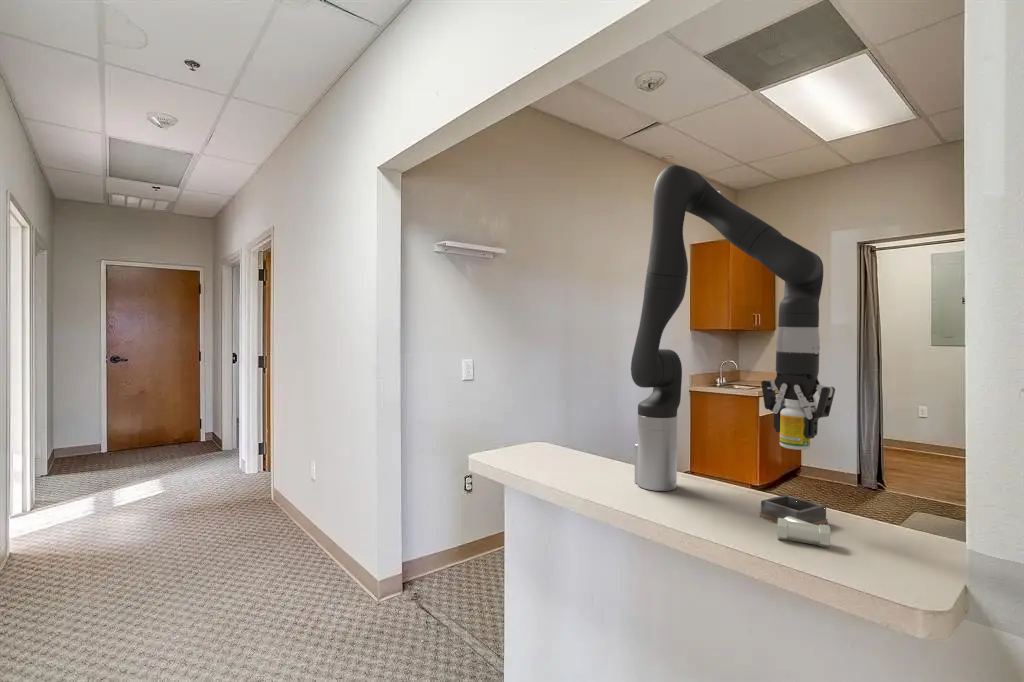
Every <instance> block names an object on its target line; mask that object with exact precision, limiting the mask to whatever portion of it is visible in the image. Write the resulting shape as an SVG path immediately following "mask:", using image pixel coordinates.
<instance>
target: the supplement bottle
mask: <svg viewBox="0 0 1024 682" xmlns="http://www.w3.org/2000/svg"><path fill="white" fill-rule="evenodd" d="M784 404H785V406H786V408H784V409H782V410H781V412H780V433H779V445H780V446H781V447H782V448H784V449H789V450H797V451H798V450H799V451H800V450H801V451H803V450H804V451H805V450H806V451H807V450H809V449H810V447H811V439H809V438H805V419H807V417H806V414H805V411H804V409H803V408H802V407H801V405H800V402H799V400H792V399H785V400H784Z"/></svg>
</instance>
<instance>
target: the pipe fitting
mask: <svg viewBox="0 0 1024 682" xmlns="http://www.w3.org/2000/svg"><path fill="white" fill-rule="evenodd" d="M776 534H777V537H776V538H777V539H778V540H780V539H781V541H786V540H787V541H792V542H799V543H803V544H808V545H815V546H819V547H821V546H822V547H821V548H827V549H829V548H831V527H830V525H828V524H823V525H822V524H820V525H814V524H811V523H808V522H805V521H802V520H799V519H797V518H794V517H791V516H788V517H786V518H784V519H783V518H778V523H777V533H776Z"/></svg>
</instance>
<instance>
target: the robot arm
mask: <svg viewBox="0 0 1024 682" xmlns="http://www.w3.org/2000/svg"><path fill="white" fill-rule="evenodd" d="M653 188H654V189H653V200H652V201H653V206H652V231H651V239H650V246H649V253H648V254H649V255H648V263H647V268H646V275H645V281H644V282H645V283H644V293H643V299H642V300H643V301H642V307H641V314H640V318H639V319H640V321H639V325H638V330H637V335H636V338H635V343H634V347H633V351H632V356H631V362H630V363H631V364H630V375H631V379H632V381H633V383H634V384H635V386H638V387H640V388H647V389H648V388H653V389H652V393H650V395H649V396H648V397H646V398H645V399H644V400H642V401H640V402H639V403H638V404H637V443H636V444H634V483H635V484H636V485H637V486H638V487H639V488H642V489H645V490H650V491H656V492H657V491H658V492H667V491H674V490H676V489H677V485H678V484H677V482H678V481H677V480H678V477H677V476H678V409H679V406H680V405H681V397H682V394H681V393H682V383H683V381H682V380H683V366H682V365H683V364H682V360H681V358H680V356H679V354H677V353H678V352H676V351H674V350H672V349H667V348H663V349H662V348H661V349H660V344H661V339H662V337H663V333H664V330H665V328H666V326H667V325H668V323H669V321H670V320H671V319H672V318H673V316H674V314H675V313H676V312H677V311H678V309H679V307H680V306H681V304H682V302H683V300H684V298H685V293H686V289H687V280H688V274H689V273H688V272H689V264H688V263H689V262H688V257H687V252H686V247H685V240H684V224H685V223H684V222H685V218H686V213H689V214H692V215H694V216H696V217H698V218H700V219H701V220H704V221H705V222H707V223H708V224H710V225H711V226H713V227H714V228H715V230H717V231H718V232H719V233H720V234H721V235H722V236H723V237H724V238H725V239H726V240H727V241H728V242H729V243H730V244H732V245H733V246H734V247H736V248H737V249H739V250H740V251H742V252H743V253H745V254H746V255H748V256H749V257H751V258H752V259H754V260H756V261H757V262H759V263H760V264H762V265H763V266H764V267H765V268H766V269H767V270H769V271H770V272H771V273H773V275H775V276H776V277H778V278H780V279H781V280H782V281H784V288H783V289H784V290H783V291H784V293H783V294H784V295H783V299H782V300H781V301H780V303H779V307H778V323H777V334H776V340H775V341H776V343H775V344H776V345H775V347H776V349H775V372H776V376H775V378H774V380H771V379H770V380H769V379H768V380H762V381H761V382H760V383H761V390H762V397H763V404H764V408H765V410H769V411H771V412H772V413H773V428H774V430H775V432H776V433H779V434H780V412H781V410H782V409H784V408H786V406H785V404H784V400H785V399H792V400H799V402H800V405H801V407H802V408H803V409H804V411H805V414H806V417H807V419H805V438H809V439H810V440H811V439H814V438H815V437H816V436H818V425H819V423H818V422H819V419H820V418H822V419H823V418H828V417H829V416H830V413H831V408H832V405H833V401H834V397H835V392H836V388H835V387H834V386H827V385H823V384H821V383H820V381H819V379H818V377H819V373H820V370H819V369H820V350H821V346H820V343H821V339H820V338H821V337H820V332H819V329H820V325H819V324H820V307H819V306H820V305H819V304H820V298H821V293H822V289H823V282H824V264H823V261H822V259H821V257H820V256H819V255H818V254H817V253H815V252H813V251H811V250H809V249H808V248H806V247H805V246H802V245H801V244H798V243H797V242H795V241H794V240H792V239H790V238H788V237H786V236H784V235H783V234H782V232H780V231H779V230H777V229H776V228H775V227H774V226H772V225H770V224H769V223H767V222H765V221H764V220H762V219H760V218H759V217H757V216H756V215H754V214H752V213H751V212H749V211H748V210H746V209H743V208H742V207H740V206H738V205H737V204H735V203H734V202H732V201H731V200H730V199H727V198H726V196H724V195H723V194H721V193H720V192H719V191H718V190H716V188H714V186H712V185H711V184H710V183H709V182H708V181H707V180H706V179H705V178H704V177H703V176H702V175H701V174H700V173H698V172H697V171H696V170H693V169H690V168H688V167H685V166H683V165H678V164H677V165H676V164H673V165H669V166H667V167H665V168H664V169H663V170H662V171H661V172H660V173H659V174H658V176H657V179H656V180H655V184H654V187H653ZM776 389H777V390H778V393H777V395H776ZM816 393H817V395H818V396H819V399H818V402H817V400H816V398H815V394H816Z"/></svg>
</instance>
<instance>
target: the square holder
mask: <svg viewBox="0 0 1024 682" xmlns="http://www.w3.org/2000/svg"><path fill="white" fill-rule="evenodd" d="M796 501H797V502H796ZM824 508H825V509H824ZM758 515H759V518H762V517H763V518H762V519H764V520H767V519H768V521H770V520H771V522H773V521H774V523H776V524H778V518H783V519H784V518H786V517H788V516H791V517H794V518H797V519H799V520H802V521H805V522H808V523H811V524H814V525H820V524H823V525H826V524H828V523H829V521H828V518H827V505H823V504H820V503H817V502H814V501H810V500H806V499H803V498H799V497H795V496H792V495H788V494H785V495H779V496H774V497H771V498H767V499H762V500H760V512H759V513H758ZM825 523H826V524H825Z"/></svg>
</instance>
